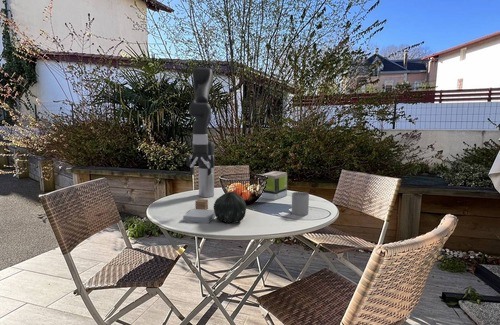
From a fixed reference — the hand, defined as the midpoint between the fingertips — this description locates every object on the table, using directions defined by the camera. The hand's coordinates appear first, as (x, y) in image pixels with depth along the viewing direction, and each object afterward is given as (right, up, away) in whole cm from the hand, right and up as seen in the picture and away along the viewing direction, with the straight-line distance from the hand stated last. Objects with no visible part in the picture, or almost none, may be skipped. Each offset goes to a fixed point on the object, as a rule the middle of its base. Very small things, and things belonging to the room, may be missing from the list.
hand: (200, 175), depth 159 cm
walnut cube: (0, -18, +2) cm, 18 cm away
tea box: (+40, -15, +32) cm, 53 cm away
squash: (+16, -21, -15) cm, 30 cm away
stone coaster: (+2, -20, -12) cm, 23 cm away
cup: (+50, -19, -2) cm, 54 cm away
